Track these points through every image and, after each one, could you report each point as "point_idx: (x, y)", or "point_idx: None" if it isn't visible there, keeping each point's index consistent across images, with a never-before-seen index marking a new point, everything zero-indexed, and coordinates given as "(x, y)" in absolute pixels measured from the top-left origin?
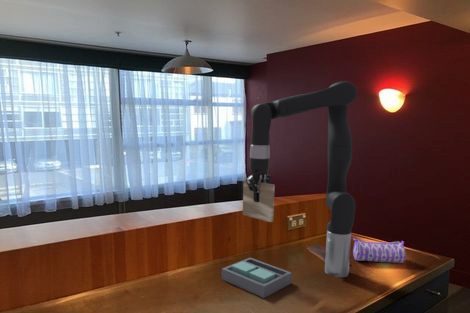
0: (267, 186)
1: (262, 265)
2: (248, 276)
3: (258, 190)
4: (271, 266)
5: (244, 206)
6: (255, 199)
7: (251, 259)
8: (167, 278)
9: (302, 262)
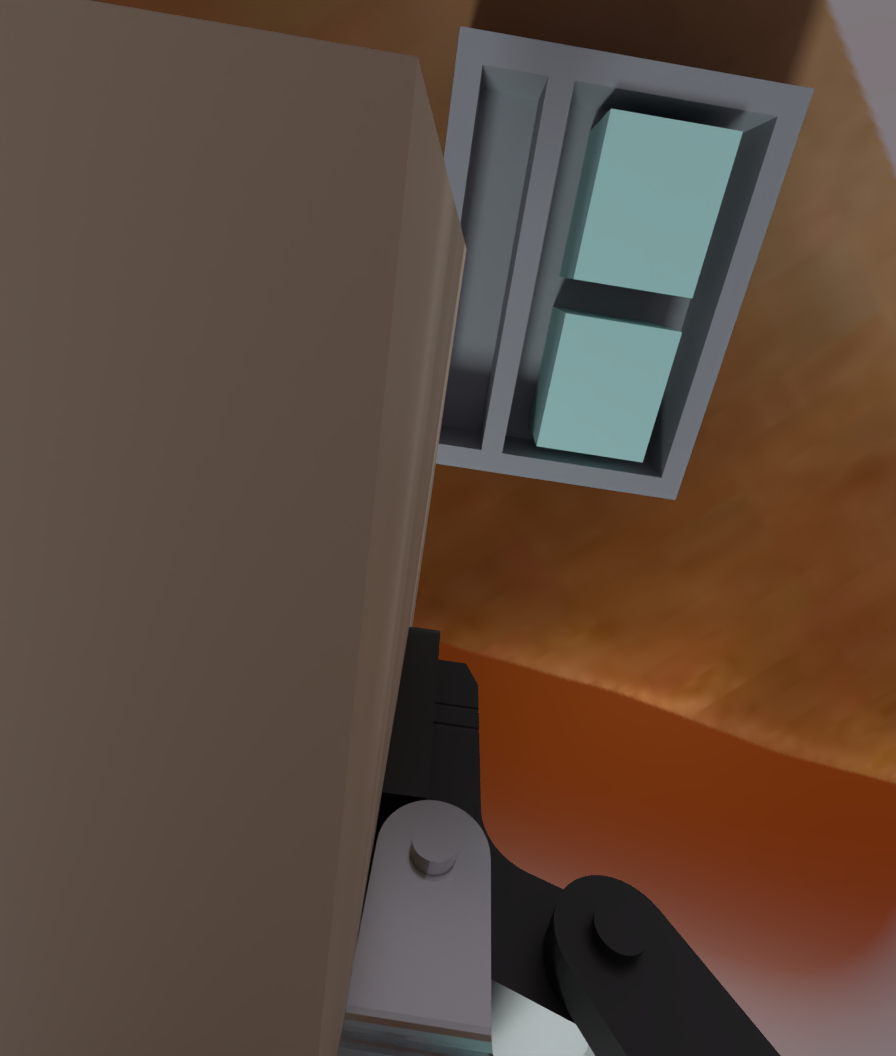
0: (370, 752)
1: None
2: (638, 322)
3: (437, 879)
4: None
5: None
6: (473, 707)
7: None
8: (742, 686)
9: None
